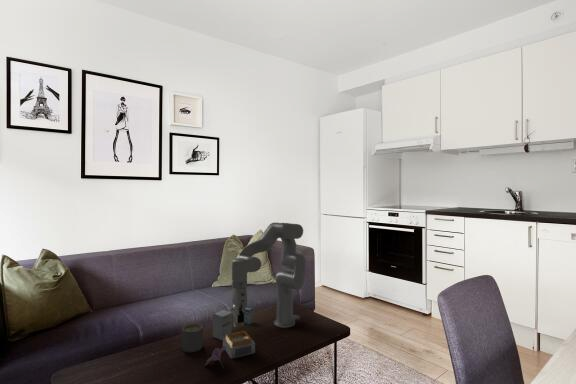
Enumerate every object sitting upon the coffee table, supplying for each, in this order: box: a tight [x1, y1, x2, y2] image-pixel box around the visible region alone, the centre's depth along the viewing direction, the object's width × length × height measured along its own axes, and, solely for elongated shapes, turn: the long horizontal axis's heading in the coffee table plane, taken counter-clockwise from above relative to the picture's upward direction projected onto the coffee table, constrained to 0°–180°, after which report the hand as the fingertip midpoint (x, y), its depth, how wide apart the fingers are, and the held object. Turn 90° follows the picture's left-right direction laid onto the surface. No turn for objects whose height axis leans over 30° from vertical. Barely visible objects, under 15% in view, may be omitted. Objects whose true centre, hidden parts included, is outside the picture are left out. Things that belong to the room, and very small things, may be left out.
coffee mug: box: [181, 323, 204, 353], centre depth 167 cm, size 13×10×10 cm
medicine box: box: [244, 306, 254, 326], centre depth 197 cm, size 8×4×9 cm, turn 62°
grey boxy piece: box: [222, 330, 256, 360], centre depth 163 cm, size 12×14×6 cm
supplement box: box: [212, 309, 233, 341], centre depth 178 cm, size 7×7×13 cm
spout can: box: [229, 303, 245, 328], centre depth 163 cm, size 8×6×10 cm
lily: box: [204, 345, 226, 368], centre depth 148 cm, size 12×12×10 cm
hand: (238, 319), depth 163 cm, fingers closed on spout can, 5 cm apart
